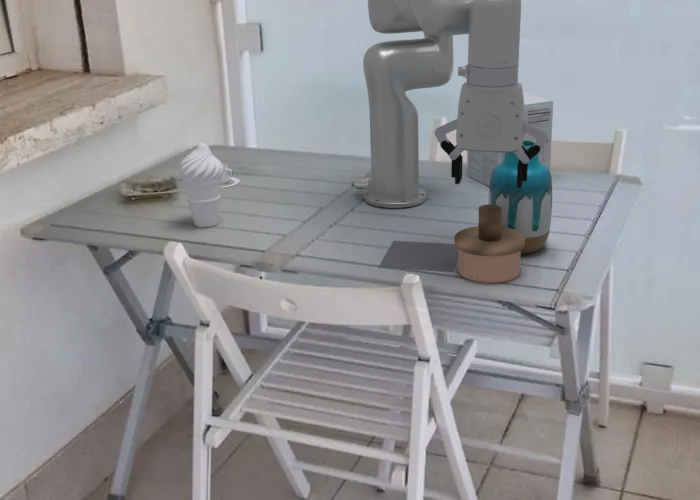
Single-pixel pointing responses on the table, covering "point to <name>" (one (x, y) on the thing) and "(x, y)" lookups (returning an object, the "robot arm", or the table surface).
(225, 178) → the teacup and saucer
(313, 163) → the table surface
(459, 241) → the lid
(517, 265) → the bowl
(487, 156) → the supplement box
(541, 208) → the vase
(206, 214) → the soft serve ice cream cone
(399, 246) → the mat
